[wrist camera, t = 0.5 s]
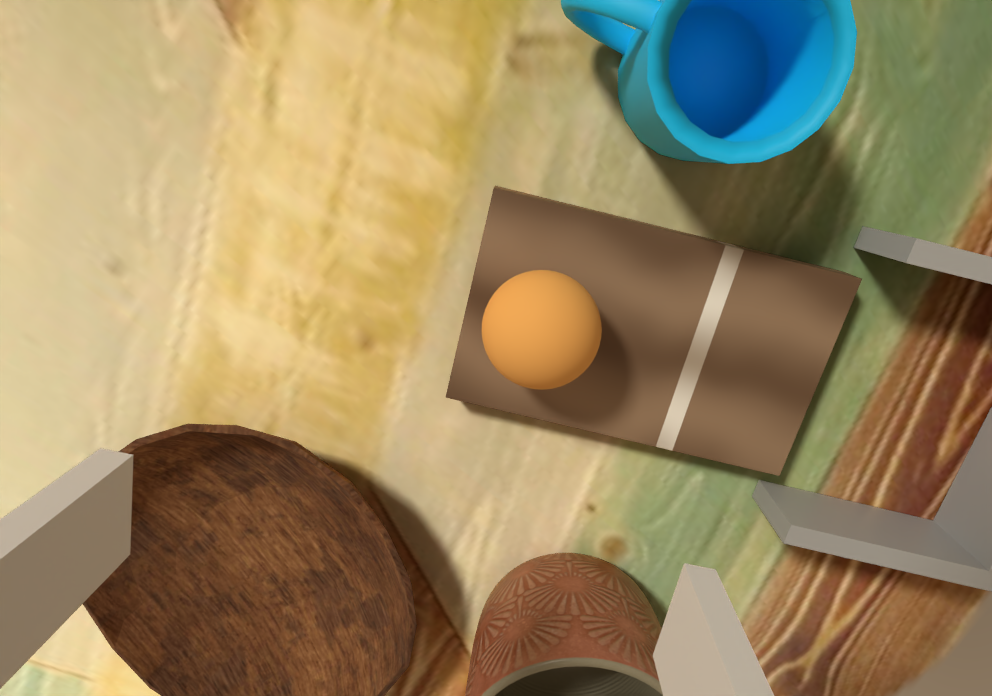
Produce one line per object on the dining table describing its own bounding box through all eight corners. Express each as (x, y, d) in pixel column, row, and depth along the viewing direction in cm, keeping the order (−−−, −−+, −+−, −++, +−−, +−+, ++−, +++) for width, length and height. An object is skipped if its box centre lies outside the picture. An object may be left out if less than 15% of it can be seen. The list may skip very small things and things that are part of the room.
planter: (611, 502, 41) (642, 624, 30) (685, 646, 44) (737, 803, 33) (440, 573, 43) (414, 710, 32) (523, 706, 46) (523, 871, 35)
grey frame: (862, 226, 35) (916, 238, 30) (1079, 280, 35) (1167, 300, 30) (752, 496, 40) (783, 543, 35) (943, 540, 40) (999, 593, 36)
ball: (499, 248, 34) (494, 268, 28) (608, 275, 34) (625, 300, 28) (474, 353, 36) (465, 391, 30) (577, 377, 36) (588, 420, 30)
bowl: (314, 340, 38) (284, 368, 33) (479, 618, 44) (474, 676, 39) (56, 466, 41) (-5, 507, 37) (240, 710, 47) (208, 774, 42)
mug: (807, 33, 32) (899, -4, 24) (726, 185, 35) (786, 196, 27) (593, -74, 31) (617, -148, 23) (524, 91, 34) (525, 73, 26)
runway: (495, 185, 35) (493, 187, 33) (843, 272, 36) (861, 278, 34) (449, 385, 39) (445, 397, 37) (766, 459, 39) (779, 475, 37)
